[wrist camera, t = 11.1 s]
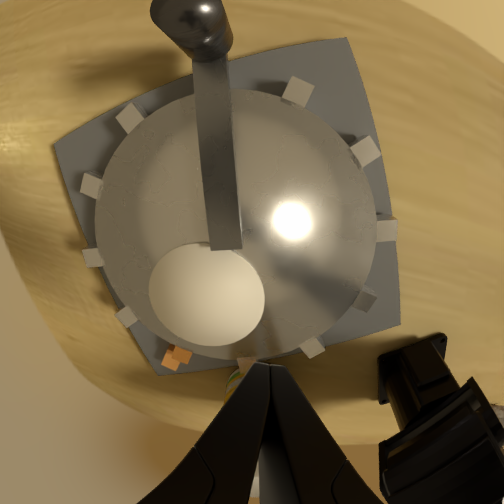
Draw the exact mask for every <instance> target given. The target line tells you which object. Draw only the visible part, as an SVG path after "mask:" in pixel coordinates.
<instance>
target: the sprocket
mask: <svg viewBox="0 0 504 504" xmlns="http://www.w3.org/2000/svg"><path fill="white" fill-rule="evenodd" d="M150 15H151V19H152V21H153V22H154V23H155V24H156V25H157V26H158V27H159V28H160V29H161V30H162V31H163V32H164V33H165V34H166V35H167V36H168V37H169V38H170V39H171V40H172V41H173V42H174V43H175V44H176V45H177V46H178V47H179V48H180V49H182V50H183V51H184V52H185V53H186V54H187V56H188V57H190V58H191V59H192V67H193V82H194V94H192V95H189V96H186V97H183V98H181V99H178V100H175V101H173V102H171V103H169V104H167V105H165V106H163V107H162V108H160V109H158V110H156V111H155V112H153V113H152V114H151V115H148V114H147V112H146V111H145V110H144V108H143V107H142V106H141V105H140V104H138V103H133V102H131V103H130V104H129V105H128V106H127V107H126V108H124V109H123V110H122V111H121V112H120V113H119V114H118V115H117V116H116V117H115V118H116V119H117V120H118V122H119V123H120V124H121V126H122V127H123V128H124V130H125V131H126V132H127V134H128V135H127V136H126V137H125V138H124V140H123V141H122V143H121V144H120V145H119V147H118V148H117V149H116V151H115V152H114V154H113V156H112V158H111V159H110V161H109V163H108V165H107V167H106V169H105V172H104V173H101V172H99V171H96V170H93V171H89V172H85V173H84V176H83V180H82V185H81V189H80V192H81V193H83V194H85V195H88V196H90V197H92V198H94V199H97V200H96V208H95V237H96V243H91V244H89V245H88V246H86V247H85V248H84V249H82V253H83V256H84V260H85V263H86V266H87V268H88V267H100V266H103V269H104V271H105V273H106V275H107V278H108V280H109V282H110V284H111V286H112V287H113V289H114V291H115V292H116V294H117V296H118V297H119V299H120V300H121V301H122V303H123V305H122V306H121V307H120V308H119V310H118V311H117V312H116V314H115V316H116V317H117V318H118V319H119V321H120V322H121V323H122V324H123V325H124V326H125V327H126V328H127V327H129V326H130V325H132V324H133V323H135V322H136V321H138V320H139V321H140V322H141V323H142V324H143V325H144V326H146V327H147V328H148V329H149V330H151V331H152V332H153V333H155V334H156V335H158V336H159V337H161V338H162V339H164V340H166V341H167V342H169V343H171V344H173V345H175V349H174V352H173V354H172V357H171V358H172V359H175V360H177V361H180V362H182V363H185V364H188V362H189V360H190V358H191V355H192V353H195V354H199V355H203V356H207V357H211V358H218V359H225V360H237V361H238V366H239V371H240V374H244V373H247V371H248V370H249V368H250V367H251V365H252V364H253V363H254V362H258V359H261V358H267V357H272V356H276V355H280V354H283V353H286V352H289V351H292V350H294V349H296V348H299V347H300V348H301V349H302V350H303V352H304V353H305V354H306V355H307V356H308V357H309V359H310V358H312V357H314V356H316V355H318V354H320V353H322V352H323V351H325V346H324V342H323V339H322V337H321V336H320V335H321V334H323V333H324V332H325V331H327V330H328V329H329V328H331V327H332V326H333V325H334V324H335V323H336V322H337V321H338V320H339V319H340V318H341V317H342V316H343V315H344V314H345V313H346V311H347V310H348V309H349V308H350V306H351V307H353V308H356V309H358V310H361V311H363V312H366V313H367V312H368V311H369V310H370V308H371V307H372V305H373V304H374V302H375V301H376V299H377V298H378V297H377V295H376V294H375V292H374V291H373V289H372V288H371V287H369V286H367V285H364V283H365V281H366V279H367V276H368V274H369V272H370V268H371V265H372V261H373V258H374V253H375V246H376V242H384V241H396V240H397V223H398V219H396V218H395V217H393V216H392V215H390V214H381V215H376V211H375V204H374V198H373V195H372V192H371V188H370V185H369V182H368V179H367V177H366V175H365V173H364V171H363V169H362V168H363V167H364V166H366V165H367V164H369V163H370V162H372V161H373V160H375V159H376V158H378V157H379V156H381V153H380V152H379V150H378V148H377V147H376V145H375V143H374V141H373V140H372V138H371V137H370V135H362V136H360V137H358V138H357V139H355V140H354V141H352V142H351V143H349V144H347V143H346V142H345V141H344V140H343V139H342V138H341V137H340V136H339V134H338V133H337V132H336V131H335V130H334V129H333V128H332V127H330V126H329V125H328V124H327V123H326V122H324V121H323V120H322V119H321V118H319V117H318V116H317V115H315V114H314V113H312V112H310V111H309V110H307V109H305V106H306V103H307V101H308V99H309V97H310V95H311V93H312V91H313V89H314V87H315V86H314V85H312V84H309V83H307V82H305V81H303V80H301V79H299V78H296V77H294V76H292V77H291V79H290V81H289V83H288V85H287V87H286V89H285V91H284V93H283V96H282V97H279V96H276V95H272V94H268V93H264V92H260V91H254V90H244V89H230V79H229V66H228V51H229V50H230V49H231V46H232V44H233V34H232V31H231V28H230V25H229V22H228V19H227V16H226V13H225V10H224V7H223V4H222V1H221V0H153V1H152V3H151V7H150Z"/></svg>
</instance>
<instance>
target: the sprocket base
mask: <svg viewBox="0 0 504 504" xmlns="http://www.w3.org/2000/svg"><path fill="white" fill-rule="evenodd" d="M228 66H229V79H230V89H244V90H254V91H260V92H264V93H268V94H272V95H276V96H279V97H282V96H283V93H284V91H285V89H286V87H287V85H288V83H289V81H290V79H291V77H292V76H294V77H296V78H299V79H301V80H303V81H305V82H307V83H309V84H312V85H314V86H315V87H314V89H313V91H312V93H311V95H310V97H309V99H308V101H307V103H306V106H305V109H307V110H309V111H310V112H312V113H314V114H315V115H317V116H318V117H319V118H321V119H322V120H323V121H324V122H326V123H327V124H328V125H329V126H330V127H332V128H333V129H334V130H335V131H336V132H337V133H338V134H339V136H340V137H341V138H342V139H343V140H344V141H345V142H346V143H347V144H349V143H351V142H352V141H354V140H355V139H357V138H358V137H360V136H362V135H370V137H371V138H372V140H373V141H374V143H375V145H376V147H377V148H378V150H379V152H380V153H381V150H380V145H379V141H378V137H377V133H376V129H375V125H374V121H373V117H372V113H371V110H370V106H369V102H368V99H367V96H366V92H365V89H364V86H363V82H362V79H361V76H360V73H359V70H358V67H357V64H356V61H355V58H354V56H353V53H352V50H351V47H350V45H349V42H348V40H347V37H345V38H337V39H329V40H322V41H316V42H309V43H304V44H298V45H293V46H288V47H283V48H279V49H274V50H270V51H266V52H262V53H258V54H254V55H250V56H246V57H243V58H239V59H236V60H232V61H229V62H228ZM192 94H194V82H193V74H190V75H188V76H185V77H182V78H180V79H177V80H175V81H172V82H170V83H167V84H165V85H163V86H160V87H158V88H156V89H153V90H151V91H149V92H147V93H144V94H142V95H140V96H138V97H136V98H134V99H132V100H129V101H127V102H125V103H123V104H121V105H119V106H117V107H115V108H114V109H112V110H110V111H108V112H106V113H104V114H102V115H100V116H99V117H97V118H95V119H93V120H92V121H90V122H88V123H86V124H85V125H83V126H81V127H80V128H78V129H76V130H75V131H73V132H71V133H70V134H68V135H66V136H65V137H63V138H62V139H60V140H59V141H57V142H56V143H54V147H55V151H56V155H57V158H58V162H59V165H60V168H61V171H62V175H63V178H64V181H65V184H66V187H67V190H68V193H69V196H70V199H71V201H72V204H73V207H74V210H75V212H76V215H77V218H78V220H79V223H80V225H81V228H82V230H83V233H84V235H85V238H86V240H87V243H88V245H89V244H91V243H96V237H95V208H96V200H97V199H94V198H92V197H90V196H88V195H85V194H83V193H81V192H80V189H81V185H82V180H83V176H84V173H85V172H89V171H93V170H96V171H99V172H101V173H104V172H105V169H106V167H107V165H108V163H109V161H110V159H111V158H112V156H113V154H114V152H115V151H116V149H117V148H118V147H119V145H120V144H121V143H122V141H123V140H124V138H125V137H126V136H127V135H128V134H127V132H126V131H125V130H124V128H123V127H122V126H121V124H120V123H119V122H118V120H117V119H116V118H115V117H116V116H117V115H118V114H119V113H120V112H121V111H122V110H123V109H124V108H126V107H127V106H128V105H129V104H130V103H131V102H133V103H138V104H140V105H141V106H142V107H143V108H144V110H145V111H146V112H147V114H148V115H151V114H152V113H153V112H155V111H156V110H158V109H160V108H162V107H163V106H165V105H167V104H169V103H171V102H173V101H175V100H178V99H181V98H183V97H186V96H189V95H192ZM362 169H363V171H364V173H365V175H366V177H367V179H368V182H369V185H370V188H371V192H372V195H373V198H374V204H375V211H376V215H381V214H390V215H392V210H391V203H390V197H389V191H388V185H387V180H386V174H385V169H384V164H383V159H382V154H381V156H379V157H378V158H376V159H375V160H373V161H372V162H370V163H369V164H367V165H366V166H364V167H363V168H362ZM98 268H99V270H100V272H101V274H102V276H103V278H104V280H105V282H106V285H107V287H108V289H109V291H110V293H111V295H112V297H113V299H114V301H115V303H116V304H117V306H118V308H120V307H121V306H122V305H123V303H122V301H121V300H120V299H119V297H118V296H117V294H116V292H115V291H114V289H113V287H112V286H111V284H110V282H109V280H108V278H107V275H106V273H105V271H104V269H103V266H100V267H98ZM364 285H367V286H369V287H371V288H372V289H373V291H374V292H375V294H376V295H377V297H378V298H377V299H376V301H375V302H374V304H373V305H372V307H371V308H370V310H369V311H368V312H367V313H366V312H363V311H361V310H358V309H356V308H353V307H351V306H350V308H349V309H348V310H347V311H346V313H345V314H344V315H343V316H342V317H341V318H340V319H339V320H338V321H337V322H336V323H335V324H334V325H333V326H332V327H331V328H329V329H328V330H327V331H325V332H324V333H323V334H321V335H320V336H321V337H322V339H323V342H324V346H325V347H326V346H330V345H334V344H337V343H341V342H345V341H348V340H352V339H356V338H359V337H363V336H366V335H369V334H373V333H376V332H379V331H382V330H386V329H389V328H392V327H395V326H398V325H401V323H400V291H399V275H398V262H397V251H396V241H384V242H376V246H375V253H374V258H373V261H372V265H371V268H370V272H369V274H368V276H367V279H366V281H365V283H364ZM129 329H130V330H131V332H132V334H133V336H134V337H135V339H136V341H137V343H138V344H139V346H140V348H141V349H142V351H143V353H144V354H145V356H146V358H147V359H148V361H149V362H150V364H151V366H152V367H153V369H154V370H155V372H156V374H157V375H158V376H161V375H171V374H180V373H188V372H196V371H203V370H210V369H217V368H224V367H230V366H236V365H238V361H237V360H225V359H218V358H211V357H207V356H203V355H199V354H195V353H192V355H191V358H190V360H189V362H188V364H185V363H182V362H180V361H177V360H175V359H172V358H171V357H172V354H173V352H174V349H175V345H173V344H171V343H169V342H167V341H166V340H164V339H162V338H161V337H159V336H158V335H156V334H155V333H153V332H152V331H151V330H149V329H148V328H147V327H146V326H144V325H143V324H142V323H141V322H140V321H139V320H138V321H136V322H135V323H133V324H132V325H130V326H129ZM301 352H303V350H302V349H301V348H300V347H299V348H296V349H294V350H292V351H289V352H286V353H283V354H280V355H276V356H272V357H267V358H261V359H258V361H264V360H269V359H274V358H278V357H283V356H288V355H292V354H297V353H301Z"/></svg>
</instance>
